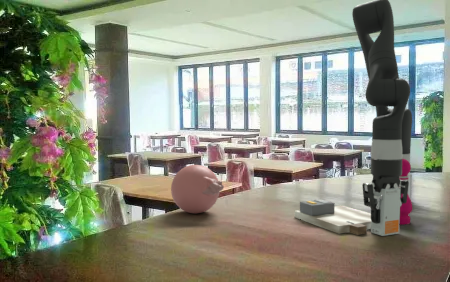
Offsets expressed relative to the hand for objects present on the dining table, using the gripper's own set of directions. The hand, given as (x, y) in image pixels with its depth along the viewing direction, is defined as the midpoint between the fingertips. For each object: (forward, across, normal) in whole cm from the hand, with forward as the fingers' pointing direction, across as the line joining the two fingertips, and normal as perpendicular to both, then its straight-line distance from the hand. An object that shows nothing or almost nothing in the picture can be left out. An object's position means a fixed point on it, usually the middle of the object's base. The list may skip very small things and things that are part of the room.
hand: (385, 221), depth 109 cm
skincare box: (+3, 0, 0) cm, 3 cm away
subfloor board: (+3, +2, -13) cm, 14 cm away
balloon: (+3, +35, -42) cm, 55 cm away
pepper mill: (+3, -13, -7) cm, 15 cm away
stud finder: (+1, +7, -20) cm, 21 cm away
